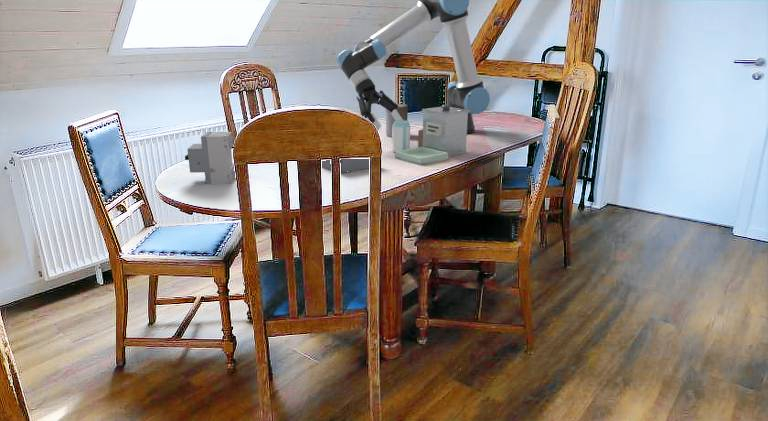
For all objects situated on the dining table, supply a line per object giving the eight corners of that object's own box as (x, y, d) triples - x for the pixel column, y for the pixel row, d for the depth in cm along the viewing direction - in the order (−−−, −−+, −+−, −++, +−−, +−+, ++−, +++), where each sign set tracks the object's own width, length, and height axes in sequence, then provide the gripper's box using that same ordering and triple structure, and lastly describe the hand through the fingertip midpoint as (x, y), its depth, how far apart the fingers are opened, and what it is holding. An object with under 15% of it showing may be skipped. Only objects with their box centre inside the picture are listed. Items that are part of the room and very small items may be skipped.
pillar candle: (408, 134, 249) (408, 100, 244) (405, 138, 240) (406, 103, 235) (387, 133, 251) (387, 100, 246) (384, 137, 241) (383, 103, 237)
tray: (422, 152, 212) (422, 146, 211) (447, 159, 202) (448, 152, 201) (394, 158, 204) (395, 151, 203) (420, 165, 193) (420, 158, 193)
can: (389, 150, 216) (389, 120, 212) (406, 149, 218) (406, 119, 214) (395, 154, 210) (395, 123, 206) (412, 152, 212) (412, 122, 208)
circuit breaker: (191, 177, 176) (186, 132, 172) (236, 177, 178) (232, 131, 173) (185, 184, 169) (180, 136, 165) (232, 183, 171) (228, 136, 166)
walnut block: (424, 145, 226) (425, 128, 224) (434, 146, 223) (435, 129, 221) (418, 147, 222) (418, 130, 220) (428, 148, 219) (429, 131, 217)
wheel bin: (354, 159, 202) (354, 143, 200) (377, 166, 191) (377, 149, 190) (318, 165, 192) (317, 149, 190) (340, 173, 182) (340, 156, 180)
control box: (443, 147, 221) (445, 102, 215) (467, 153, 212) (469, 105, 206) (420, 152, 213) (421, 104, 207) (443, 157, 204) (445, 108, 198)
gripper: (378, 88, 229) (405, 127, 225) (335, 92, 211) (364, 136, 207) (388, 75, 224) (415, 116, 219) (345, 80, 206) (374, 124, 202)
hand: (390, 126), depth 213 cm, fingers open, 13 cm apart
